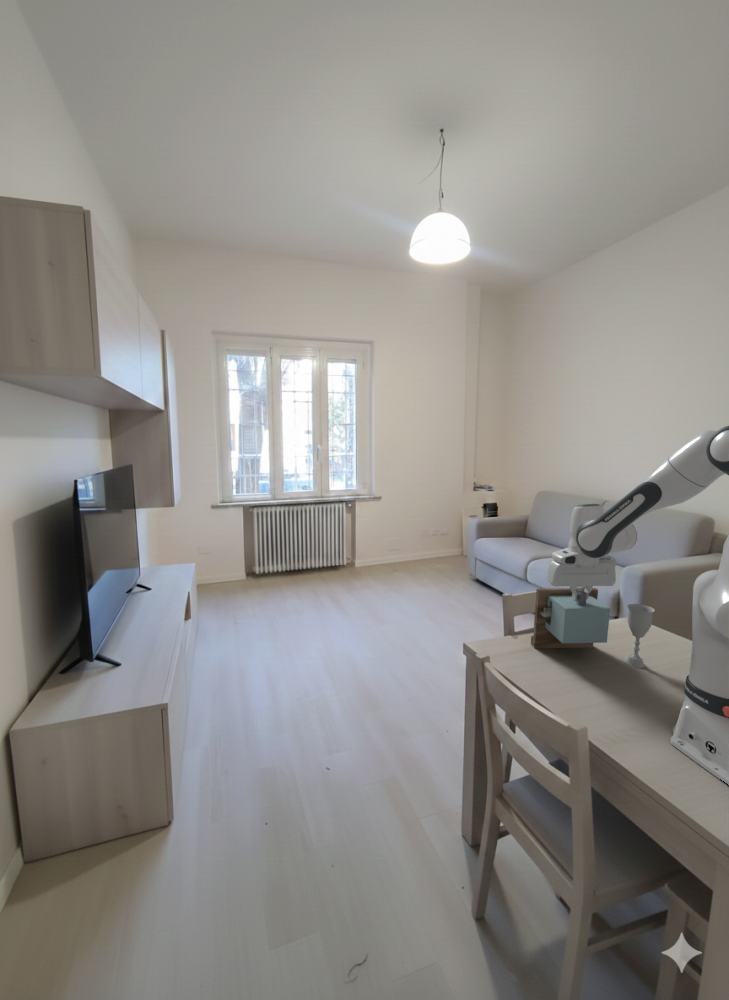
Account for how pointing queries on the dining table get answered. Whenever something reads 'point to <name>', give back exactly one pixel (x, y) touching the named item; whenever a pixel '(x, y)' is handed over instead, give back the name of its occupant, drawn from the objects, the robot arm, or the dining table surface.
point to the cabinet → (578, 619)
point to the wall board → (543, 614)
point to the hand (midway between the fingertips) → (579, 599)
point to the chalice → (638, 629)
